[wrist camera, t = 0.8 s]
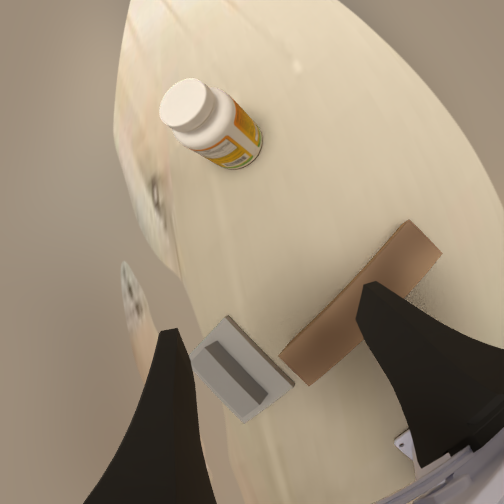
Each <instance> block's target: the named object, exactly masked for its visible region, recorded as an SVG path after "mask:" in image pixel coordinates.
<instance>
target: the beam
mask: <svg viewBox="0 0 504 504" xmlns="http://www.w3.org/2000/svg"><path fill="white" fill-rule="evenodd" d="M442 254H443V253H442V252H441V251H440V250H439V249H438V248H437V247H436V246H435V245H434V244H433V243H432V242H431V241H430V240H429V239H428V238H427V237H426V236H425V235H424V234H423V233H422V231H421V230H420V229H419V228H418V227H417V226H416V225H415V224H413V223H412V222H411V221H410V220H407V221H406V222H404V223H403V224H402V225H401V226H400V227H399V228H398V229H397V231H396V232H395V233H394V234H393V235H392V236H391V238H390V239H389V240H388V241H387V242H386V243H385V245H384V246H383V247H382V248H381V249H380V250H379V251H378V253H377V254H376V255H375V256H374V257H373V258H372V259H371V260H370V261H369V263H368V264H367V265H366V266H365V267H364V268H363V269H362V270H361V271H360V272H359V274H358V275H357V276H356V277H355V278H354V279H353V280H352V281H351V282H350V283H349V284H348V285H347V286H346V287H345V288H344V289H343V290H342V291H341V293H340V294H339V295H338V296H337V297H336V298H335V299H334V300H333V301H332V302H331V303H330V304H329V305H328V306H327V307H326V308H325V309H324V310H323V311H322V312H321V313H320V314H319V315H318V316H317V317H316V318H315V319H314V320H313V321H312V322H311V323H310V324H308V325H307V326H306V327H305V328H304V329H303V330H302V331H301V332H300V333H299V334H298V335H297V336H296V337H295V338H294V339H293V340H292V341H291V342H289V344H288V345H287V346H286V347H285V348H284V350H283V351H282V352H281V353H280V354H279V355H278V356H279V357H280V358H281V359H282V360H283V361H284V362H285V363H286V364H287V365H288V366H289V367H290V368H291V369H292V370H293V371H294V372H295V373H296V374H297V375H298V376H299V377H300V378H301V379H302V380H303V381H304V382H305V383H306V384H307V385H308V386H310V385H311V384H313V383H314V382H315V381H316V380H318V379H319V378H320V377H321V376H323V375H324V374H325V373H326V372H327V371H328V370H330V369H331V368H332V367H333V366H334V365H336V364H337V363H338V362H339V361H340V360H341V359H342V358H344V357H345V356H346V355H347V354H348V353H349V352H350V351H351V350H352V349H354V348H355V347H356V346H357V345H358V344H359V343H360V342H361V341H362V340H363V339H364V338H363V335H362V333H361V331H360V329H359V327H358V324H357V322H356V320H355V318H356V314H357V310H358V306H359V302H360V298H361V293H362V289H363V285H364V284H367V283H370V282H374V281H377V282H379V283H380V284H382V285H384V286H385V287H387V288H388V289H390V290H391V291H393V292H394V293H396V294H397V295H399V296H400V297H402V298H403V299H404V298H405V297H406V296H407V295H408V293H409V292H410V291H411V290H412V289H413V288H414V287H415V286H416V285H417V283H418V282H419V281H420V280H421V279H422V278H423V277H424V275H425V274H426V273H427V272H428V271H429V269H430V268H431V267H432V266H433V265H434V263H435V262H436V261H437V260H438V259H439V257H440V256H441V255H442Z"/></svg>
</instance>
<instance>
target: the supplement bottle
mask: <svg viewBox="0 0 504 504" xmlns="http://www.w3.org/2000/svg"><path fill="white" fill-rule="evenodd" d="M159 114H160V118H161V120H162V122H163V123H164V124H166V125H167V126H169V127H170V128H172V131H173V134H174V136H175V138H176V139H177V141H178V142H179V143H181V144H182V145H184V146H185V147H187V148H189V149H191V150H193V151H194V152H196V153H198V154H200V155H202V156H203V157H205V158H207V159H209V160H210V161H212V162H214V163H216V164H217V165H219V166H221V167H223V168H227V169H238V168H242V167H244V166H246V165H248V164H249V163H251V162H252V161H253V160H254V159H255V158H256V156H257V155H258V153H259V151H260V149H261V145H262V135H261V131H260V129H259V127H258V126H257V125H256V123H255V122H254V121H253V120H252V119H251V118H250V117H249V116H248V115H247V114H246V112H245V111H244V110H243V109H242V108H241V107H240V106H239V105H238V104H237V103H236V102H235V101H234V100H233V99H232V97H231V96H230V95H228V94H227V93H226V92H225V91H223V90H222V89H219V88H216V87H208V86H207V85H205V84H204V83H203V82H202V81H200V80H198V79H195V78H188V79H184V80H181V81H179V82H177V83H176V84H174V85H173V86H172V87H171V88H170V89H169V90H168V91H167V92H166V94H165V95H164V97H163V99H162V101H161V104H160V108H159Z"/></svg>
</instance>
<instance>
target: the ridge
mask: <svg viewBox="0 0 504 504" xmlns="http://www.w3.org/2000/svg"><path fill="white" fill-rule="evenodd" d="M189 358H190V360H191V365H192V370H193V371H194V372H195V373H196V374H197V376H198V377H199V378H200V379H201V380H202V381H203V382H204V383H205V384H206V385H207V387H208V388H209V389H210V390H211V391H212V392H213V393H214V394H215V395H216V396H217V397H218V398H219V399H220V400H221V401H222V402H223V403H224V404H225V405H226V406H227V407H228V408H229V409H230V410H231V411H232V412H233V413H234V414H235V415H236V416H237V417H238V418H239V419H240V420H241V421H242V422H243V423H246V422H247V421H249V420H250V419H252V418H253V417H254V416H256V415H257V414H259V413H260V412H261V411H263V410H264V409H265V408H267V407H268V406H270V405H271V404H272V403H274V402H275V401H276V400H278V399H279V398H280V397H281V396H283V395H284V394H285V393H287V392H288V391H289V390H290V389H292V388H293V387H294V385H295V383H294V382H293V381H292V380H291V379H290V378H289V377H288V376H287V375H286V374H285V373H284V372H283V371H282V370H281V369H280V368H279V367H278V366H277V365H276V364H275V363H274V362H273V361H272V360H271V359H270V358H269V357H268V356H267V355H266V354H265V353H264V352H263V351H262V350H261V349H260V348H259V347H258V346H257V345H256V344H255V343H254V342H253V341H252V340H251V339H250V338H249V337H248V336H247V335H246V334H245V333H244V332H243V331H242V329H241V328H240V327H239V326H238V325H237V324H236V323H235V322H234V321H233V320H232V319H231V318H230V317H229V316H226V317H224V318H223V319H222V320H221V321H220V323H219V324H218V325H217V326H216V327H215V328H214V329H213V330H212V331H211V332H210V333H209V334H208V335H207V336H206V338H205V339H204V340H203V341H202V342H201V343H200V344H199V345H198V346H197V347H196V348H195V349H194V350H193V351H192V352H191V353H190V355H189Z"/></svg>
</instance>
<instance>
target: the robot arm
mask: <svg viewBox="0 0 504 504" xmlns="http://www.w3.org/2000/svg"><path fill="white" fill-rule="evenodd" d="M355 320H356V322H357V324H358V327H359V329H360V331H361V333H362V335H363V338H364V340H365V341H366V343H367V345H368V346H369V348H370V350H371V351H372V353H373V355H374V356H375V358H376V359H377V361H378V363H379V364H380V366H381V368H382V369H383V371H384V372H385V374H386V376H387V377H388V379H389V381H390V383H391V385H392V386H393V388H394V391H395V393H396V395H397V398H398V400H399V402H400V405H401V407H402V410H403V412H404V415H405V418H406V420H407V423H408V427H409V429H408V430H407V431H406V432H404V433H403V434H401V435H400V436H399V437H397V438H396V439H395V440H394V445H395V446H396V447H397V448H398V449H400V450H401V451H402V452H403V453H404V454H405V455H406V456H408V457H409V458H410V459H411V460H412V461H413V463H414V470H415V478H416V481H414V482H412V483H411V484H409V485H407V486H405V487H404V488H402V489H400V490H398V491H396V492H394V493H392V494H391V495H389V496H387V497H385V498H383V499H381V500H379V501H376V502H374V503H372V504H406V503H408V502H409V501H411V500H413V499H415V498H416V497H418V498H417V499H416V500H415V501H413V504H504V349H501V348H497V347H494V346H491V345H488V344H485V343H483V342H480V341H478V340H475V339H473V338H470V337H468V336H466V335H464V334H462V333H460V332H458V331H456V330H454V329H452V328H450V327H448V326H446V325H444V324H442V323H441V322H439V321H437V320H436V319H434V318H432V317H431V316H429V315H427V314H426V313H424V312H423V311H421V310H420V309H418V308H417V307H415V306H413V305H412V304H410V303H409V302H408V301H406V300H405V299H403V298H402V297H400V296H399V295H397V294H396V293H394V292H393V291H391V290H390V289H388V288H387V287H385V286H384V285H382V284H380V283H379V282H377V281H374V282H370V283H367V284H364V285H363V289H362V293H361V298H360V302H359V306H358V310H357V314H356V318H355ZM401 443H404V444H403V445H400V444H401ZM83 504H217V503H216V500H215V497H214V493H213V490H212V487H211V483H210V479H209V476H208V472H207V468H206V464H205V460H204V456H203V451H202V447H201V441H200V434H199V424H198V413H197V402H196V391H195V382H194V376H193V371H192V365H191V360H190V358H189V355H188V353H187V351H186V348H185V346H184V343H183V341H182V338H181V336H180V333H179V331H178V328H175V329H169V330H164V331H161V332H160V333H159V336H158V341H157V345H156V349H155V353H154V357H153V360H152V364H151V367H150V371H149V374H148V377H147V380H146V384H145V387H144V389H143V392H142V395H141V398H140V401H139V403H138V406H137V409H136V411H135V414H134V416H133V418H132V421H131V423H130V426H129V428H128V430H127V432H126V434H125V436H124V438H123V440H122V442H121V445H120V446H119V448H118V450H117V452H116V454H115V456H114V458H113V459H112V461H111V463H110V464H109V466H108V468H107V469H106V471H105V473H104V474H103V476H102V477H101V479H100V481H99V482H98V484H97V485H96V486H95V488H94V489H93V491H92V492H91V493H90V495H89V496H88V497H87V499H86V500H85V501H84V503H83Z"/></svg>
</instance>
